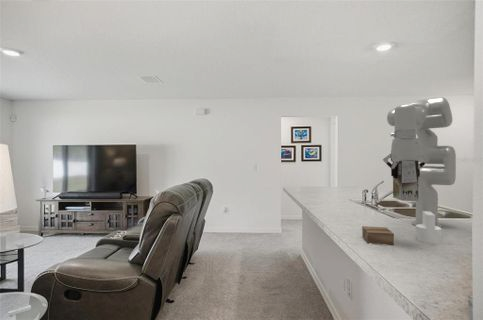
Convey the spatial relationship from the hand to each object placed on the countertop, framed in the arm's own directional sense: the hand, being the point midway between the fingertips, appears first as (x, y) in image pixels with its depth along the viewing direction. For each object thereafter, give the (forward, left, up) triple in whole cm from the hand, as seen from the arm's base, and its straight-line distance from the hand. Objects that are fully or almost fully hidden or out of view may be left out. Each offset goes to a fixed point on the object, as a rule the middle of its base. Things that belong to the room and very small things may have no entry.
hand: (405, 178), depth 106 cm
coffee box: (0, 0, -9) cm, 9 cm away
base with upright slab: (-10, +10, -28) cm, 31 cm away
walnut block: (-2, -10, -28) cm, 30 cm away
